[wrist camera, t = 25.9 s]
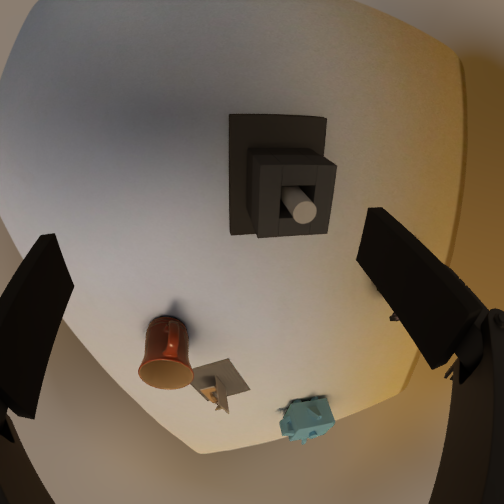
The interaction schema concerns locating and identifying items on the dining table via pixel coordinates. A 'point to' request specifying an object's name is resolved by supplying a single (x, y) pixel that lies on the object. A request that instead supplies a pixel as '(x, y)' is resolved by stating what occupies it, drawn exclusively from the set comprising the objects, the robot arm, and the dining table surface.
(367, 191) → the dining table surface
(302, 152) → the dark block with hole
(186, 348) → the mug
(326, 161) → the grey square-holed block
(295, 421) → the teapot
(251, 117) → the base pad
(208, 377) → the architectural model
